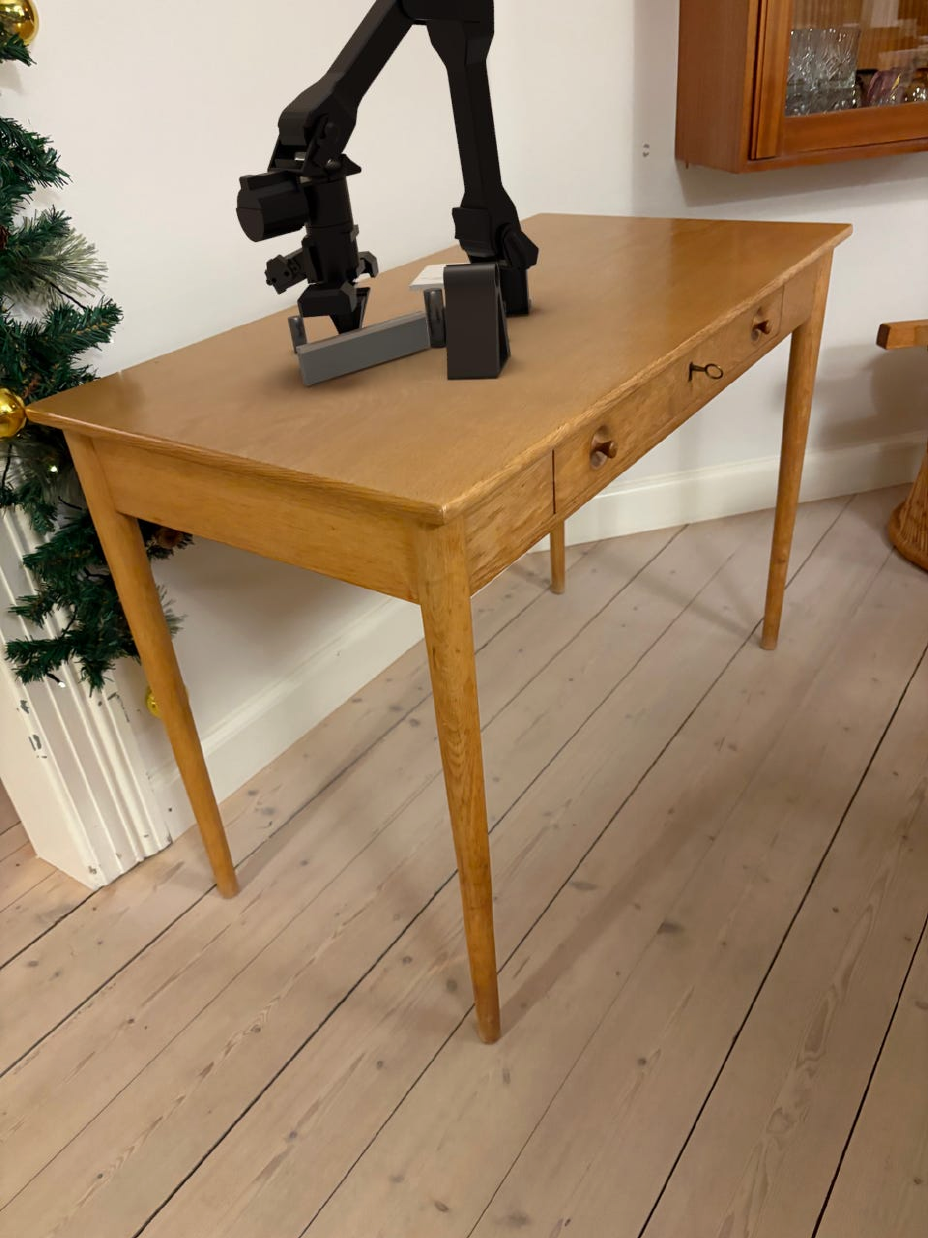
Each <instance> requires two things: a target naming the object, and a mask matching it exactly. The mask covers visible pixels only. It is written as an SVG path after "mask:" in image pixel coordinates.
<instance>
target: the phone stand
mask: <svg viewBox="0 0 928 1238" xmlns="http://www.w3.org/2000/svg"><path fill="white" fill-rule="evenodd" d="M468 263H469V264H456V263H451V264H452V265H446V267H444V269H443V283H444V289H443V290H444V299H445V301H444V303H445V304H444V306H445V311H446V347H445V348H446V377H447V378H446V379H447V380H451V381H452V380H479V379H480V380H481V379H483V380H484V379H485V380H486V379H498V378H499V376H500V375H501V372H502V371H503V369H504V368H505V366H506V364H507V362H508V360H509V359H510V358H511V353H512V352H511V346H510V338H509V334H508V333H509V332H507V330H508V325H507V326H506V320H505V314H504V308H503V302H502V295H501V289H500V279H499V268H498V264H497V262H486V263H470V262H468Z"/></svg>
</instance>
